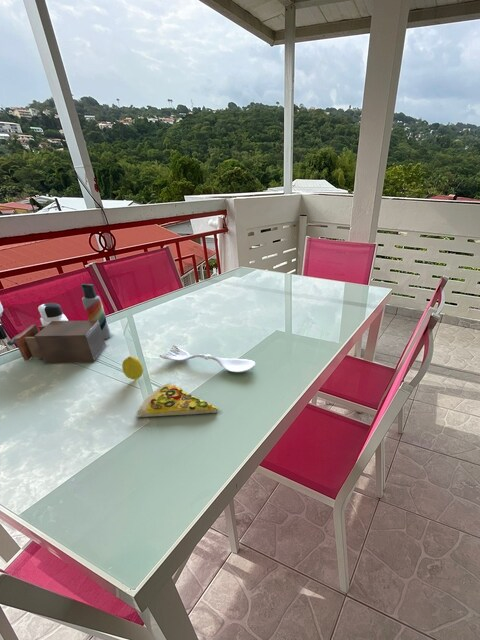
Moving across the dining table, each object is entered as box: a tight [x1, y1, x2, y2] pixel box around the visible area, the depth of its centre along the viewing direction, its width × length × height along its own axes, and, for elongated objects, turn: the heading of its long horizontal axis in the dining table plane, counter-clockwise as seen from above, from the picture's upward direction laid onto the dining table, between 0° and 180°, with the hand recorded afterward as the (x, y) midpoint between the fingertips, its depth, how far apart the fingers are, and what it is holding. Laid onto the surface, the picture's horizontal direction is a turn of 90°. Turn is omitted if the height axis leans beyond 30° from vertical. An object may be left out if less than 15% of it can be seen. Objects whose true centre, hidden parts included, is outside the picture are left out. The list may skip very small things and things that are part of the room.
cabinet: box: [34, 320, 107, 364], centre depth 111 cm, size 15×13×10 cm
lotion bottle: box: [80, 283, 112, 340], centre depth 120 cm, size 6×6×20 cm
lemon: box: [121, 355, 144, 381], centre depth 100 cm, size 6×6×8 cm
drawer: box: [6, 324, 46, 362], centre depth 109 cm, size 18×11×8 cm, turn 99°
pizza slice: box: [137, 382, 219, 418], centre depth 91 cm, size 16×21×3 cm
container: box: [37, 302, 69, 326], centre depth 119 cm, size 8×8×13 cm
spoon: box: [158, 344, 256, 373], centre depth 111 cm, size 9×32×4 cm, turn 77°
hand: (0, 338), depth 107 cm, fingers closed
